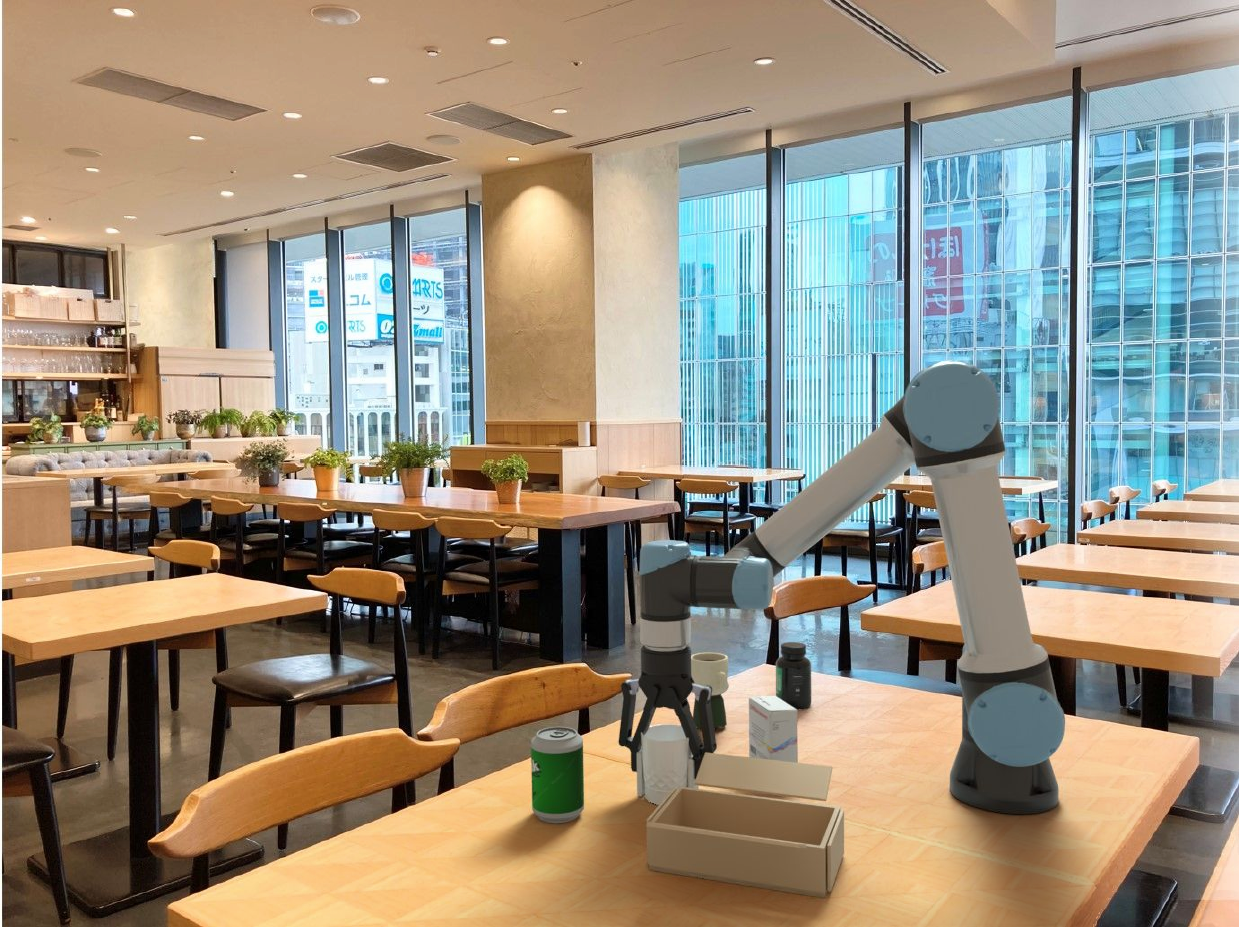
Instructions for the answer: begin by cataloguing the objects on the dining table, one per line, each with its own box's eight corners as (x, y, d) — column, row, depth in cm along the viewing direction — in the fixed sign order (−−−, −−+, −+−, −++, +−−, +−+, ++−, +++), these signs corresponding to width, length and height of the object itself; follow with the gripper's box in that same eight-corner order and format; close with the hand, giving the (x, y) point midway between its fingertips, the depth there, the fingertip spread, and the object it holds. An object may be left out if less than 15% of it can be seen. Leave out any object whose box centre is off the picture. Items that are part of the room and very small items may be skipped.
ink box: (799, 783, 153) (799, 708, 152) (770, 787, 152) (769, 711, 151) (775, 764, 161) (775, 693, 161) (747, 768, 160) (747, 696, 159)
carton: (845, 852, 129) (845, 807, 128) (829, 898, 117) (829, 849, 116) (675, 828, 137) (675, 785, 137) (644, 869, 125) (643, 822, 125)
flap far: (826, 801, 130) (832, 768, 135) (825, 799, 130) (832, 766, 135) (694, 785, 137) (705, 754, 142) (694, 782, 136) (705, 752, 141)
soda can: (593, 809, 144) (592, 728, 143) (569, 829, 137) (567, 744, 137) (548, 801, 147) (546, 722, 147) (522, 820, 140) (520, 737, 140)
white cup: (678, 812, 142) (677, 744, 142) (631, 801, 147) (630, 735, 146) (703, 794, 149) (702, 729, 149) (658, 784, 153) (657, 721, 153)
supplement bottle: (775, 709, 190) (775, 648, 190) (776, 699, 197) (775, 640, 197) (811, 711, 189) (811, 649, 189) (811, 700, 196) (810, 641, 195)
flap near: (806, 844, 117) (797, 843, 111) (806, 848, 116) (797, 847, 111) (661, 824, 123) (646, 822, 118) (661, 827, 123) (646, 826, 118)
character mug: (742, 732, 177) (741, 661, 177) (708, 738, 174) (707, 666, 174) (710, 716, 187) (710, 648, 186) (678, 721, 184) (677, 652, 183)
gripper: (738, 644, 147) (739, 795, 148) (611, 635, 154) (614, 779, 155) (725, 655, 140) (727, 814, 141) (593, 646, 147) (596, 797, 148)
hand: (667, 795), depth 148 cm, fingers closed on white cup, 7 cm apart
